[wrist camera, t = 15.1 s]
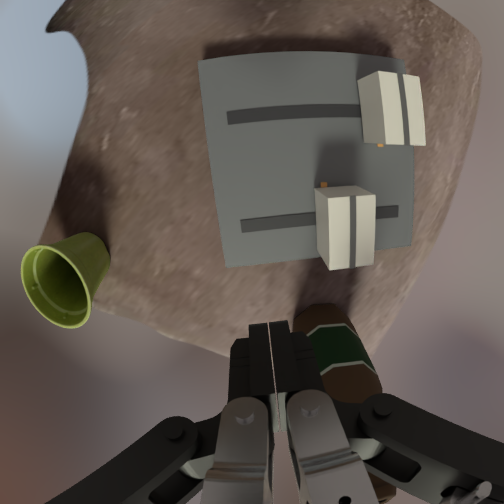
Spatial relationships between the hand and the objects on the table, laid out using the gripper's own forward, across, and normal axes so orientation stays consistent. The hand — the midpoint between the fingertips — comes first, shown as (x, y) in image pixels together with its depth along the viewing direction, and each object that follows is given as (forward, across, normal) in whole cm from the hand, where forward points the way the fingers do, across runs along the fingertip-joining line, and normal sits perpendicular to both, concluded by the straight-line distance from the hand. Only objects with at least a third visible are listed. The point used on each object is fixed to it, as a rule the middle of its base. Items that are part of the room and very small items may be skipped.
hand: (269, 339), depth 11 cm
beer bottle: (+20, -7, +16) cm, 26 cm away
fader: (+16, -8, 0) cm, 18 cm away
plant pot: (+20, +20, +2) cm, 29 cm away
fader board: (+20, -7, -6) cm, 22 cm away
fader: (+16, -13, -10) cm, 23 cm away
